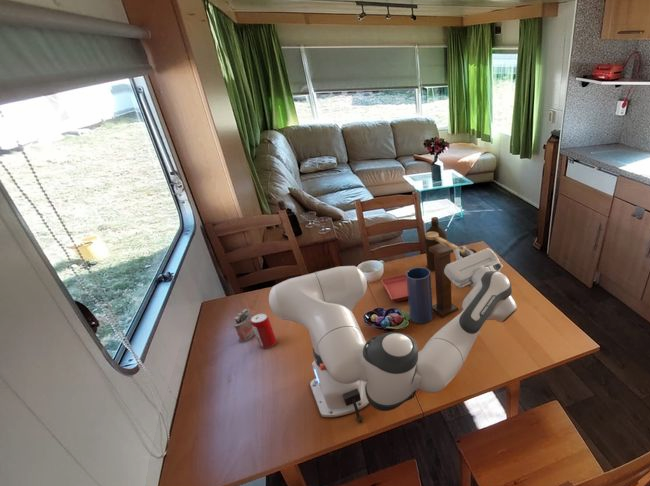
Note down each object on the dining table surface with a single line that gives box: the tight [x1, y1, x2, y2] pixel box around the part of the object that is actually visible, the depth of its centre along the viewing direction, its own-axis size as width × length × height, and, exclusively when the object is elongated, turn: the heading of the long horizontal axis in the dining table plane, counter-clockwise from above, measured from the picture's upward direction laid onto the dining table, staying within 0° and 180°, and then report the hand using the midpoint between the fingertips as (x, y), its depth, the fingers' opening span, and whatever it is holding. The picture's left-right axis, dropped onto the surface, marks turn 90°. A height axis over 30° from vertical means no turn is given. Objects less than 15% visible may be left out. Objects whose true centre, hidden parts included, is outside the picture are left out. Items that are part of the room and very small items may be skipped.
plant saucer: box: [381, 273, 433, 303], centre depth 167 cm, size 18×18×3 cm
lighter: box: [232, 308, 256, 343], centre depth 139 cm, size 8×3×10 cm, turn 168°
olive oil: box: [423, 216, 448, 272], centre depth 179 cm, size 11×11×25 cm
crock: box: [405, 266, 434, 325], centre depth 146 cm, size 9×9×20 cm
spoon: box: [424, 232, 465, 254], centre depth 138 cm, size 21×5×1 cm, turn 41°
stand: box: [429, 243, 459, 318], centre depth 148 cm, size 8×8×28 cm
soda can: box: [251, 313, 277, 349], centre depth 134 cm, size 6×6×12 cm
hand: (458, 248), depth 132 cm, fingers closed on spoon
